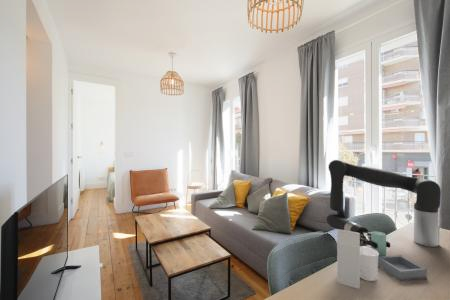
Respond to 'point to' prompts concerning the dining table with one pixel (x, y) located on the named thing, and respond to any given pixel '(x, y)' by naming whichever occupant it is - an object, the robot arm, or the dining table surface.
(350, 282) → the milk carton
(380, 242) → the mint green cylinder
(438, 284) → the dining table surface
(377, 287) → the dining table surface
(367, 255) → the white cup
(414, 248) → the dining table surface
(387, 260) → the dish
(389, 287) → the dining table surface
